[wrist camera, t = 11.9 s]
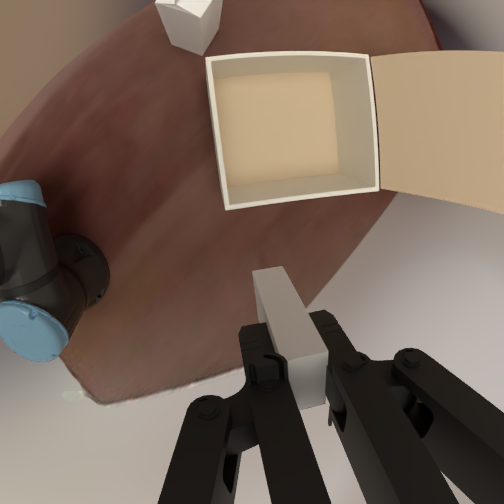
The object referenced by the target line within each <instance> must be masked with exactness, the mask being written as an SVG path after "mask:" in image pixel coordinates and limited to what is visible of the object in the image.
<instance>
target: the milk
mask: <svg viewBox="0 0 504 504" xmlns="http://www.w3.org/2000/svg"><path fill="white" fill-rule="evenodd" d="M222 2H223V0H156V2H155V5H156V7H157V10H158V12H159V15H160V17H161V20H162V22H163V25H164V27H165V29H166V32H167V34H168V37H169V39H170V42H171V44H172V45H174V46H177V47H180V48H182V49H185V50H188V51H190V52H193V53H195V54H198V55H200V56H203V55H204V53H205V51H206V49H207V48H208V46H209V44H210V43H211V41H212V40H213V38H214V36H215V35H216V33H217V31H218V30H219V24H220V17H221V9H222Z"/></svg>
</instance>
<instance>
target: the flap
mask: <svg viewBox="0 0 504 504" xmlns="http://www.w3.org/2000/svg"><path fill="white" fill-rule="evenodd" d="M371 64H372V71H373V79H374V87H375V96H376V106H377V117H378V131H379V147H380V174H381V189H387V190H393V191H399V192H404V193H410V194H415V195H420V196H426V197H431V198H436V199H441V200H445V201H450V202H455V203H459V204H464V205H468V206H472V207H477V208H481V209H485V210H489V211H493V212H497V213H501V214H504V52H493V51H428V52H412V53H401V54H391V55H382V56H374V57H371Z"/></svg>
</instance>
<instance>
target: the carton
mask: <svg viewBox="0 0 504 504" xmlns="http://www.w3.org/2000/svg"><path fill="white" fill-rule="evenodd" d="M205 60H206V82H207V90H208V98H209V106H210V114H211V122H212V130H213V137H214V145H215V152H216V159H217V167H218V174H219V181H220V188H221V193H222V198H223V202H224V206H225V210H232V209H238V208H245V207H252V206H259V205H266V204H273V203H280V202H288V201H295V200H303V199H311V198H319V197H327V196H336V195H345V194H354V193H363V192H373V191H379V165H378V143H377V128H376V115H375V104H374V94H373V85H372V77H371V70H370V62H369V56H368V55H367V54H356V53H342V52H321V51H278V52H256V53H242V54H231V55H222V56H213V57H205Z"/></svg>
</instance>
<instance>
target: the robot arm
mask: <svg viewBox="0 0 504 504" xmlns="http://www.w3.org/2000/svg"><path fill="white" fill-rule="evenodd" d="M46 208H47V206H46V204H45V203H44V200H43V195H42V191H41V187H40V185H39V184H38V183H37V182H36V181H34V180H20V181H13V182H8V183H3V184H0V337H1V338H2V340H3V341H4V342H5V344H6V345H7V346H8V347H9V348H11V349H12V350H13V351H14V352H15V353H17V354H19V355H21V356H22V357H24V358H26V359H28V360H31V361H35V362H49V361H52V360H54V359H55V358H56V357H58V356H59V354H60V353H61V351H62V350H63V348H64V347H65V346H66V345H67V344H68V341H69V339H70V337H71V335H72V333H73V331H74V329H75V327H76V325H77V323H78V321H79V319H80V318H81V316H82V314H83V312H84V311H85V310H87V309H89V308H90V307H92V306H94V305H95V304H97V303H98V302H99V301H100V300H101V298H102V297H103V295H104V293H105V292H106V290H107V287H108V284H109V268H108V264H107V262H106V259H105V257H104V256H103V254H102V252H101V251H100V250H99V249H98V247H97V246H96V245H95V244H93V243H92V242H91V241H89V240H88V239H86V238H84V237H82V236H79V235H75V234H65V235H61V236H59V237H57V238H55V239H54V240H53V238H52V234H51V230H50V225H49V221H48V217H47V212H46ZM252 274H253V282H254V290H255V297H256V305H257V313H258V319H259V322H260V323H258V324H252V325H247V326H242V327H241V330H240V332H239V334H238V336H239V342H240V347H241V353H242V358H243V364H244V370H245V376H246V382H245V385H244V386H243V388H242V389H241V390H240V391H239V392H238V393H236V394H234V395H232V396H230V397H228V398H225V399H223V398H221V397H220V396H214V395H206V396H202V397H200V398H197V399H195V400H194V401H193V402H192V403H191V404H190V405H189V407H188V409H187V412H186V415H185V418H184V421H183V424H182V427H181V431H180V434H179V437H178V440H177V443H176V446H175V450H174V452H173V456H172V459H171V462H170V465H169V468H168V472H167V475H166V478H165V481H164V485H163V488H162V491H161V494H160V497H159V501H158V504H234V499H235V493H236V486H237V480H238V473H239V467H240V460H241V454H242V452H243V451H245V450H247V449H249V448H252V447H254V446H256V445H258V444H259V447H260V452H261V457H262V461H263V466H264V471H265V475H266V480H267V485H268V489H269V494H270V498H271V502H272V504H331V501H330V498H329V495H328V493H327V489H326V487H325V484H324V481H323V478H322V475H321V472H320V469H319V467H318V464H317V461H316V458H315V455H314V452H313V449H312V446H311V444H310V441H309V438H308V435H307V432H306V429H305V426H304V423H303V420H302V417H301V414H300V411H299V410H303V409H307V408H311V407H315V406H319V405H323V404H325V401H326V397H327V399H328V401H329V403H330V407H329V418H328V425H329V426H331V425H332V421H333V423H334V426H335V428H336V430H337V433H338V435H339V438H340V440H341V442H342V445H343V447H344V450H345V452H346V454H347V457H348V459H349V462H350V464H351V466H352V469H353V471H354V474H355V476H356V478H357V481H358V483H359V486H360V488H361V491H362V493H363V495H364V498H365V500H366V503H367V504H459V503H458V501H457V499H456V497H455V496H454V494H453V492H452V490H451V489H450V487H449V485H448V483H447V482H446V480H445V478H444V477H443V475H442V473H443V474H445V476H447V477H448V478H449V479H450V480H451V481H452V482H453V483H454V484H455V485H456V486H457V487H458V488H459V489H460V490H461V491H462V492H463V493H464V494H465V495H466V496H467V497H468V498H469V499H470V500H472V501H473V502H474V503H475V504H504V413H503V412H502V411H501V410H499V409H498V408H497V407H495V406H494V405H493V404H492V403H490V402H489V401H487V400H486V399H485V398H484V397H482V396H481V395H480V394H478V393H477V392H476V391H475V390H473V389H472V388H471V387H470V386H468V385H467V384H465V383H464V382H462V380H460V379H459V378H458V377H456V376H455V375H454V374H452V373H451V372H449V371H448V370H447V369H446V368H444V367H443V366H442V365H440V364H439V363H438V362H437V361H435V360H434V359H433V358H431V357H430V356H428V355H427V354H426V353H424V352H423V351H421V350H419V349H414V348H405V349H402V350H400V351H398V352H397V353H396V354H395V356H394V360H384V361H374V360H371V359H370V358H369V357H368V356H367V355H366V354H363V353H361V352H357V351H356V350H355V348H354V346H353V345H352V343H351V342H350V340H349V339H348V337H347V336H346V334H345V332H344V331H343V330H342V328H341V326H340V325H339V324H338V322H337V320H336V319H335V317H334V316H333V315H332V314H331V313H329V312H327V311H326V310H321V311H316V312H312V313H308V312H307V310H306V308H305V307H304V305H303V303H302V301H301V299H300V297H299V296H298V294H297V292H296V290H295V288H294V286H293V285H292V283H291V281H290V279H289V277H288V275H287V274H286V272H285V270H284V268H283V266H279V267H273V268H267V269H261V270H255V271H252ZM441 472H442V473H441Z"/></svg>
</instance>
